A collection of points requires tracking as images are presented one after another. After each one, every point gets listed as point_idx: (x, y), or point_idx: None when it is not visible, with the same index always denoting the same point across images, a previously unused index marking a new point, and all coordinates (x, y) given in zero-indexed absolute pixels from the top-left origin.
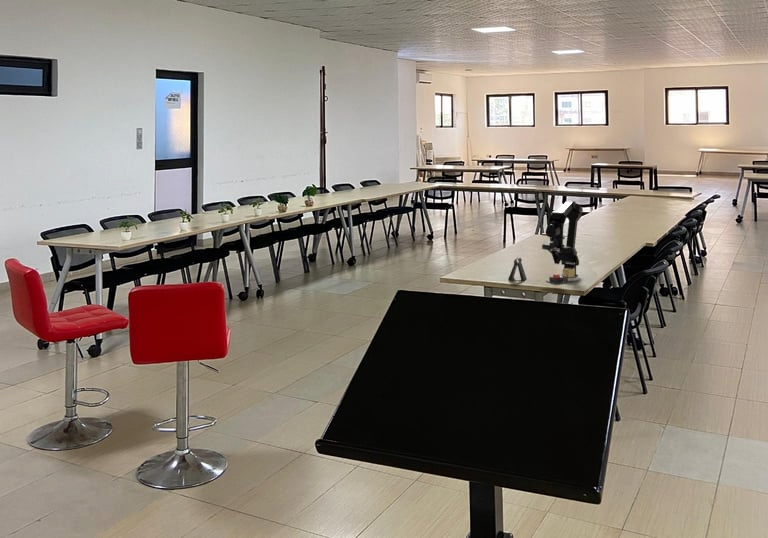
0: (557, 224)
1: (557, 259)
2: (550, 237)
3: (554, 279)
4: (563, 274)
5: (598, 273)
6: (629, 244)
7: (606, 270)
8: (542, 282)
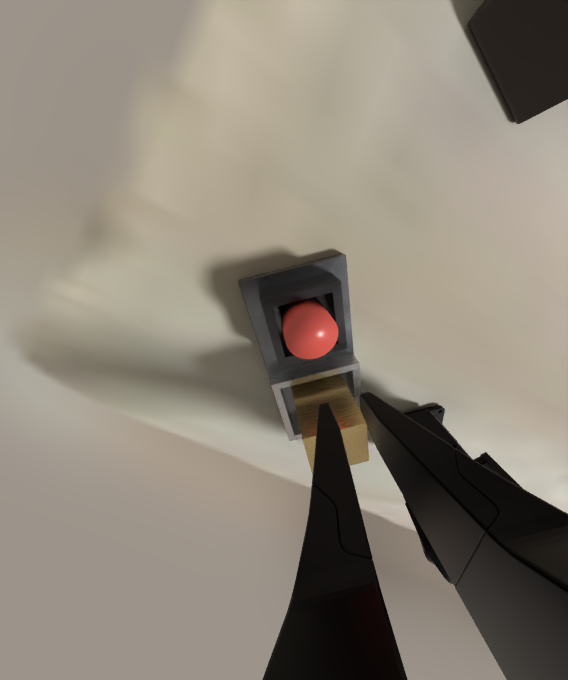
0: None
1: (319, 465)
2: None
3: (275, 293)
4: (340, 392)
5: (381, 505)
6: None
7: (404, 526)
8: (334, 206)
